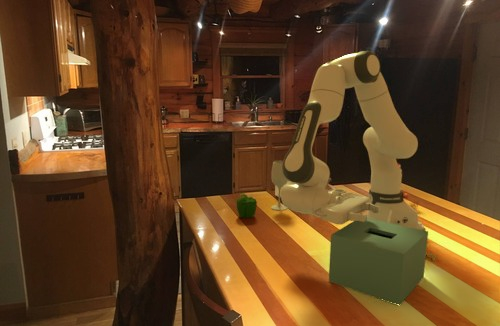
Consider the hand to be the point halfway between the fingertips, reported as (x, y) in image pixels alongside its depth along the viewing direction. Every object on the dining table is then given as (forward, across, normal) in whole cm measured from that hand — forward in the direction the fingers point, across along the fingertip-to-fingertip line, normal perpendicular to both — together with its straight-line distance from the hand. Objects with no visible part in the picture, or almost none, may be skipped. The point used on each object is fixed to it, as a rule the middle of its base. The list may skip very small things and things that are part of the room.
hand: (372, 214), depth 113 cm
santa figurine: (-21, +80, +19) cm, 85 cm away
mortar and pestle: (-46, +59, +19) cm, 78 cm away
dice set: (+9, +25, +20) cm, 34 cm away
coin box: (+2, 0, +19) cm, 19 cm away
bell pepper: (-61, +19, +19) cm, 67 cm away
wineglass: (-57, +37, +19) cm, 71 cm away
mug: (-66, +56, +19) cm, 88 cm away
